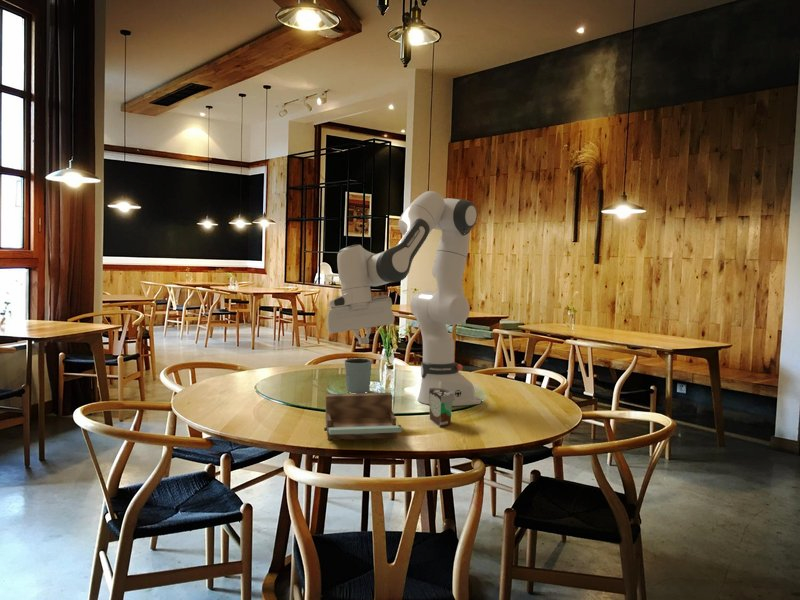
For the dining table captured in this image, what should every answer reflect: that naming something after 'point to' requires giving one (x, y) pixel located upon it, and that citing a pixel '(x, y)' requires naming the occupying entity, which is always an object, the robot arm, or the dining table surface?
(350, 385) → the gray cup
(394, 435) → the brown open box
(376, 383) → the dining table surface
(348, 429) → the panel
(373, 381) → the dining table surface
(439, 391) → the food container
